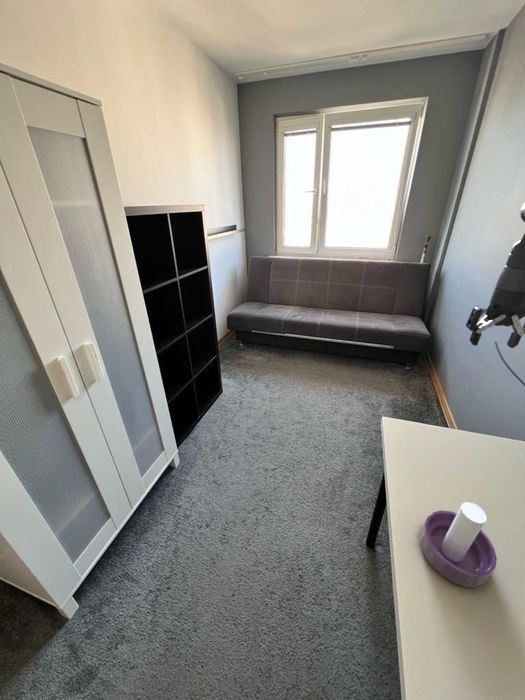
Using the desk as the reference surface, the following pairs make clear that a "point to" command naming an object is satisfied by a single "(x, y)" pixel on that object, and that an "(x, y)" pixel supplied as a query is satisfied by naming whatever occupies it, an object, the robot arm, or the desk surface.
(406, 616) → the desk surface
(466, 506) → the tube
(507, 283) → the robot arm
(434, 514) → the bowl
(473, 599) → the desk surface
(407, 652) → the desk surface
